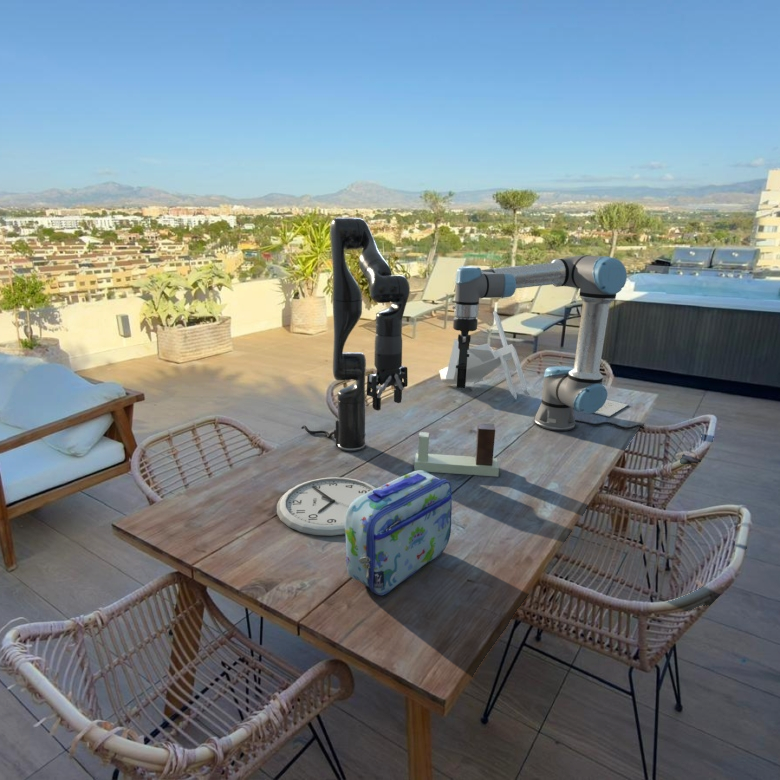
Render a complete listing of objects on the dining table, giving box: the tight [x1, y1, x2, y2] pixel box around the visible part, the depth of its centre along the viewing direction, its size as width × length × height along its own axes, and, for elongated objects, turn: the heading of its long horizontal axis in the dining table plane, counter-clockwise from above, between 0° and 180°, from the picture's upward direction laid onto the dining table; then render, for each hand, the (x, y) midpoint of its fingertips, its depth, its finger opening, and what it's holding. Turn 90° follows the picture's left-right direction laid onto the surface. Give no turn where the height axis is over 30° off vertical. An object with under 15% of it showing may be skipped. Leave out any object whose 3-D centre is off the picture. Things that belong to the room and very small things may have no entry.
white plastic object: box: [438, 310, 531, 400], centre depth 245 cm, size 37×45×31 cm
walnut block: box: [474, 422, 496, 466], centre depth 162 cm, size 5×5×12 cm
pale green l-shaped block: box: [413, 431, 500, 478], centre depth 164 cm, size 26×7×11 cm, turn 83°
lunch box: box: [344, 470, 453, 596], centre depth 114 cm, size 26×11×21 cm, turn 135°
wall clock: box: [276, 476, 377, 537], centre depth 142 cm, size 30×2×30 cm
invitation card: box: [593, 399, 629, 418], centre depth 226 cm, size 21×1×15 cm
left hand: (387, 406), depth 147 cm, fingers open, 8 cm apart
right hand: (461, 382), depth 171 cm, fingers open, 13 cm apart
